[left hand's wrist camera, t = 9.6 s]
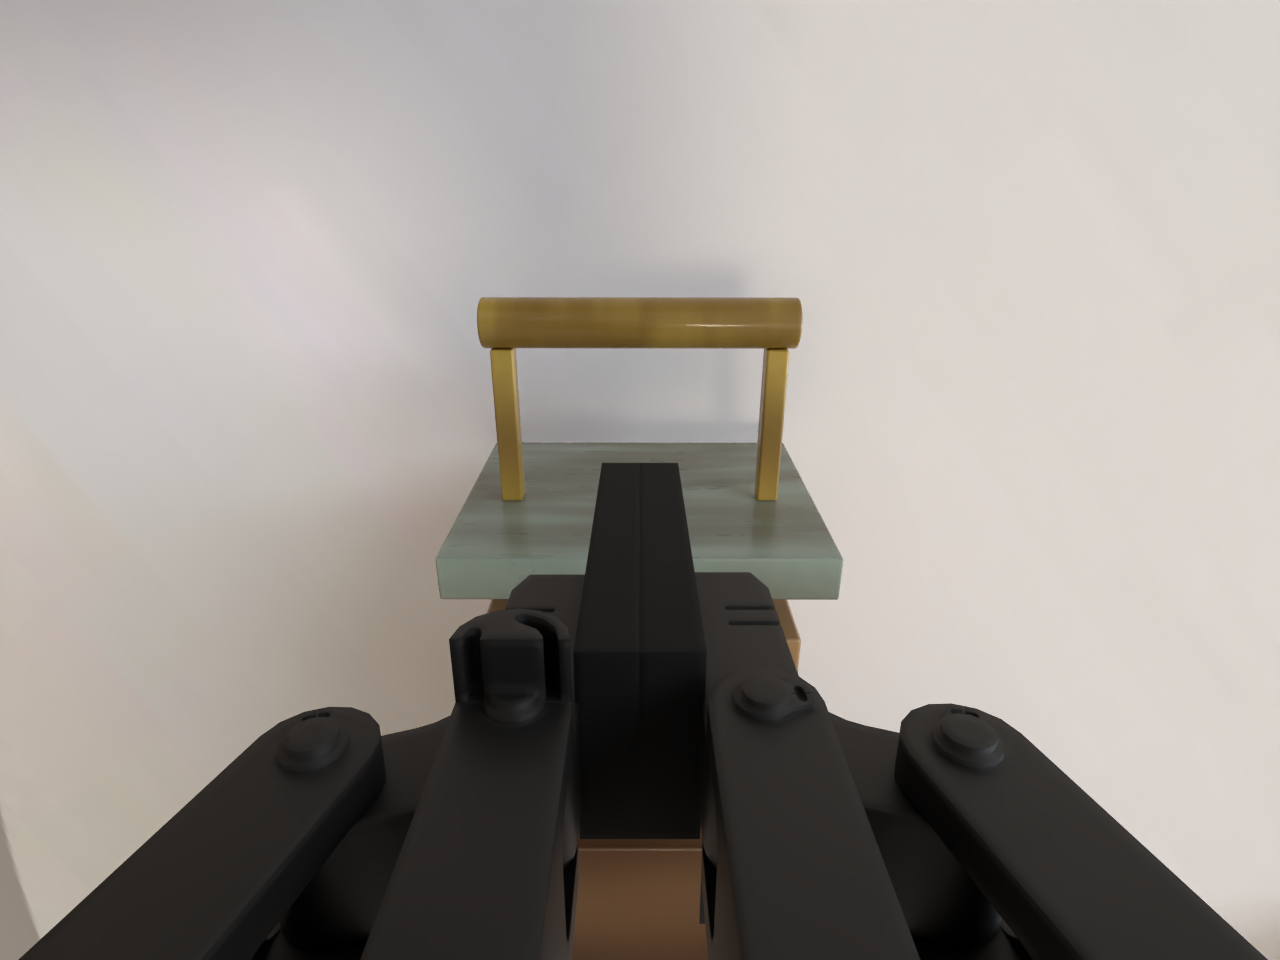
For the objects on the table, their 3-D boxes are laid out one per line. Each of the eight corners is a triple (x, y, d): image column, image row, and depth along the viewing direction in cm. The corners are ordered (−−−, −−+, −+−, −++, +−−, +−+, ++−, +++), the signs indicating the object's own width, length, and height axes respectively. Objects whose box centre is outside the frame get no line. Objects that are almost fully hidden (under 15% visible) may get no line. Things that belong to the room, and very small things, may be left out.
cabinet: (502, 636, 30) (439, 848, 21) (777, 636, 30) (839, 849, 21) (530, 963, 38) (494, 1223, 29) (748, 963, 38) (783, 1224, 29)
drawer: (482, 274, 24) (405, 325, 16) (797, 274, 24) (873, 325, 16) (528, 839, 33) (494, 1039, 26) (750, 839, 33) (783, 1040, 26)
